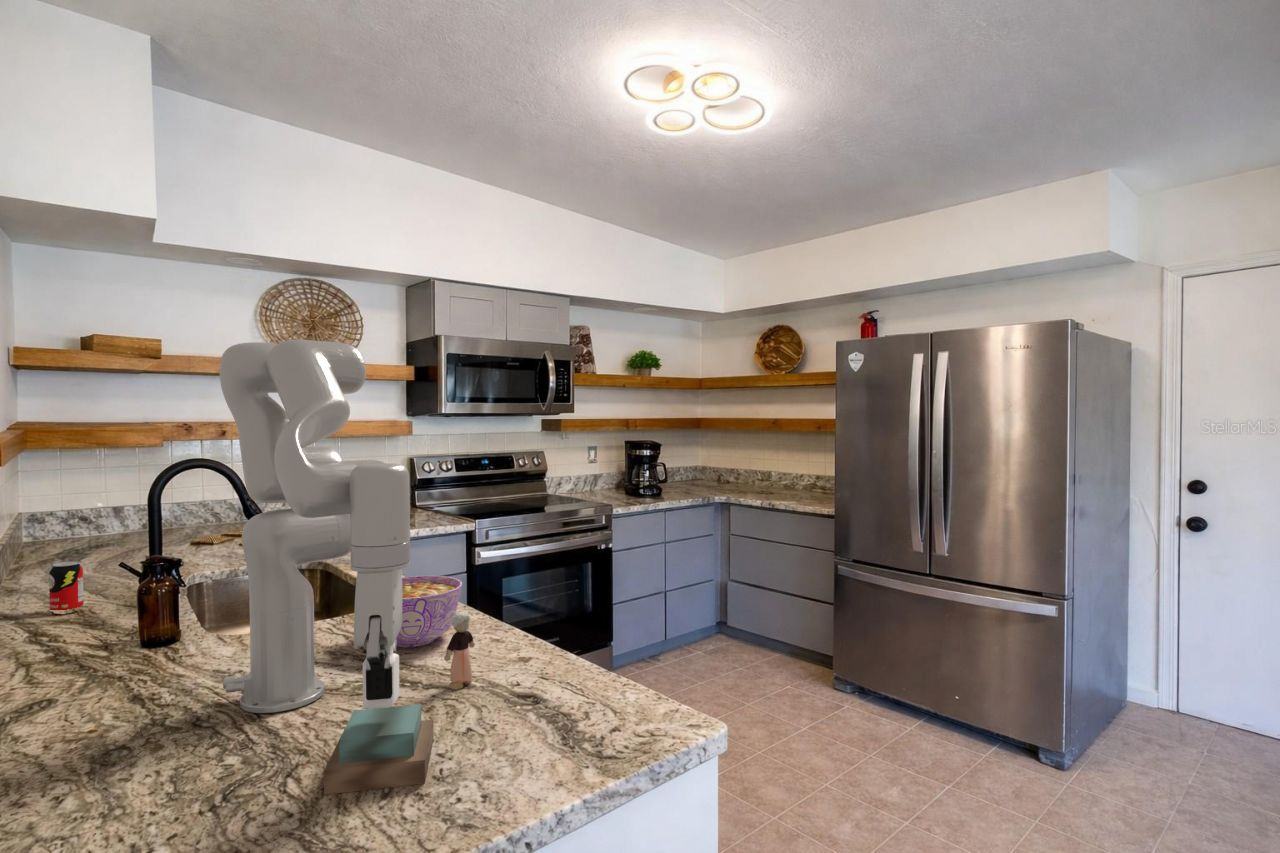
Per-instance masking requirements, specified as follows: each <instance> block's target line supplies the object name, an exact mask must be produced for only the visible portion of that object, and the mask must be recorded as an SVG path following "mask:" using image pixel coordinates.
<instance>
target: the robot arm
mask: <svg viewBox="0 0 1280 853" xmlns="http://www.w3.org/2000/svg"><path fill="white" fill-rule="evenodd" d="M366 377H367V367H366V362H365V358H364V357H363V355H362V353H361V352H360V351H359V350H358V349H357V348H356V347H355V346H353V345H352V344H349V343H344V342H336V341H323V340H312V339H311V340H310V339H288V340H283V341H281V342H280V343H277V342H276V343H274V342H259V341H257V342H252V341H251V342H242V343H237V344H233V345H231V346H230V347H227V348H226V350H225V351H224V352H223V353H222V355H221V358H220V363H219V382H220V388H221V391H222V395H223V398H224V400H225V403H226V405H227V407H228V409H229V411H230V413H231V416H232V417H233V420H234V423H235V425H236V429H237V433H238V442H239V449H240V456H241V463H242V464H241V465H242V471H243V472H242V473H243V478H244V479H243V480H244V484H245V488H246V492H247V495H248V496H249V497H250V499H251V500H252V501H254V502H256V503H258V504H259V503H260V504H280V503H284V504H285V503H287V504H288V506H289V508H282V509H281V508H280V509H275V510H273V509H272V510H268V511H265V512H264V511H263V512H260V513H258V514H256V515H254V516H252V517H250V519H248V521H246V523H245V524H244V526H243V528H242V531H241V532H242V533H241V544H242V550H243V555H244V559H245V560H244V561H245V565H246V570H247V572H246V573H247V579H248V594H249V595H248V596H249V597H248V598H249V599H248V600H249V608H248V609H249V645H250V646H249V647H250V648H249V653H250V654H249V659H250V660H249V661H250V662H249V664H250V673H246V674H245V675H242V676H238V675H234V676H233V675H232V676H225V677H224V679H223V682H222V686H223V687H222V688H223V689H224V690H225V693H226V694H227V693H228V694H229V693H237V692H241V693H242V695H241V696H240V697H239V707H240V708H241V709H242V710H243V711H246V712H247V713H248V712H249V713H252V714H253V713H254V714H273V713H281V712H285V711H290V710H294V709H298V708H301V707H303V706H307V705H309V704H311V703H313V702H315V701H317V700H318V699H319V698H321V697H322V696H323V695H324V694H325V687H326V685H325V682H323V681H322V680H321V679H319V678H316V677H315V675H316V674H315V673H316V672H315V602H314V601H315V600H314V598H315V597H314V596H315V595H314V589H313V587H312V584H311V582H310V581H309V580H308V579H307V578H306V577H305V576H304V574H302V573H301V572H300V570H299V569H298V567H299V566H301V565H305V564H311V563H318V562H323V561H324V562H325V561H329V560H334V559H339V558H342V557H346V556H347V555H349V554H350V570H351V571H353V572H357V574H356V580H355V593H354V594H355V595H354V616H353V617H354V619H353V622H354V623H353V646H354V648H355V649H357V650H359V649H361V647H363V646H364V645H365V643H366V658H367V660H366V699H367V700H379V699H389V698H391V697H392V694H393V688H392V667H390V646H391V645H392V644H393V643H394V646H393V653H395V654H397V648H398V646H397V644H396V638H397V636H398V633H399V631H400V629H401V624H402V602H403V598H402V577H403V569H404V568H407V567H410V566H411V516H410V515H411V513H410V512H411V508H410V507H411V504H410V503H411V501H410V499H411V498H410V496H411V495H410V494H411V492H410V488H411V487H410V473H409V470H408V468H407V467H406V466H405V465H403V464H399V463H387V462H384V461H382V460H375V459H363V460H362V459H361V460H360V459H359V460H344V459H343V458H342V455H341V454H340V453H339V452H338V451H337V450H336V449H335V448H332V447H329V446H323V445H321V446H319V445H318V446H314V445H313V444H315V443H317V442H319V441H321V440H324V439H325V438H328V437H330V436H332V435H334V434H335V433H338V431H340V430H341V429H342V428H343V427H344V425H346V423H347V422H348V420H349V418H350V415H351V409H350V405H349V402H348V399H346V397H345V395H348V394H349V395H350V394H354V393H356V392H358V391H360V389H361V388H363V385H364V384H365V383H366ZM269 393H270V394H271V393H273V394H274V393H275V394H278V396H279V399H280V402H281V403H282V405H283V406H282V405H280V404H279V402H277V401H276V400H275V399H273V397H271V396H270V395H269ZM311 445H313V446H311ZM380 640H386V642H385V643H386V644H380ZM383 649H385V655H384V654H383V653H380V650H383ZM384 656H385V658H384Z"/></svg>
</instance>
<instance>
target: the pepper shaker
mask: <svg viewBox="0 0 1280 853" xmlns="http://www.w3.org/2000/svg"><path fill="white" fill-rule="evenodd" d="M385 642H386V640H380V644H386V643H385ZM393 646H394V643H393V644H392V645H391V646H390V667H392V688H393V694H392V697H391V698H389V699H379V700H367V699H366V660H367V657H366V658H365V659H364V661H363V662H362V705H363V709H372V708H389V707H394V705H395V703H396V702H397V701H398V699H399V697H400V654H397V653H393ZM380 653H383V654H384V655H385V649H383V650H380ZM384 658H385V656H384Z"/></svg>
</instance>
